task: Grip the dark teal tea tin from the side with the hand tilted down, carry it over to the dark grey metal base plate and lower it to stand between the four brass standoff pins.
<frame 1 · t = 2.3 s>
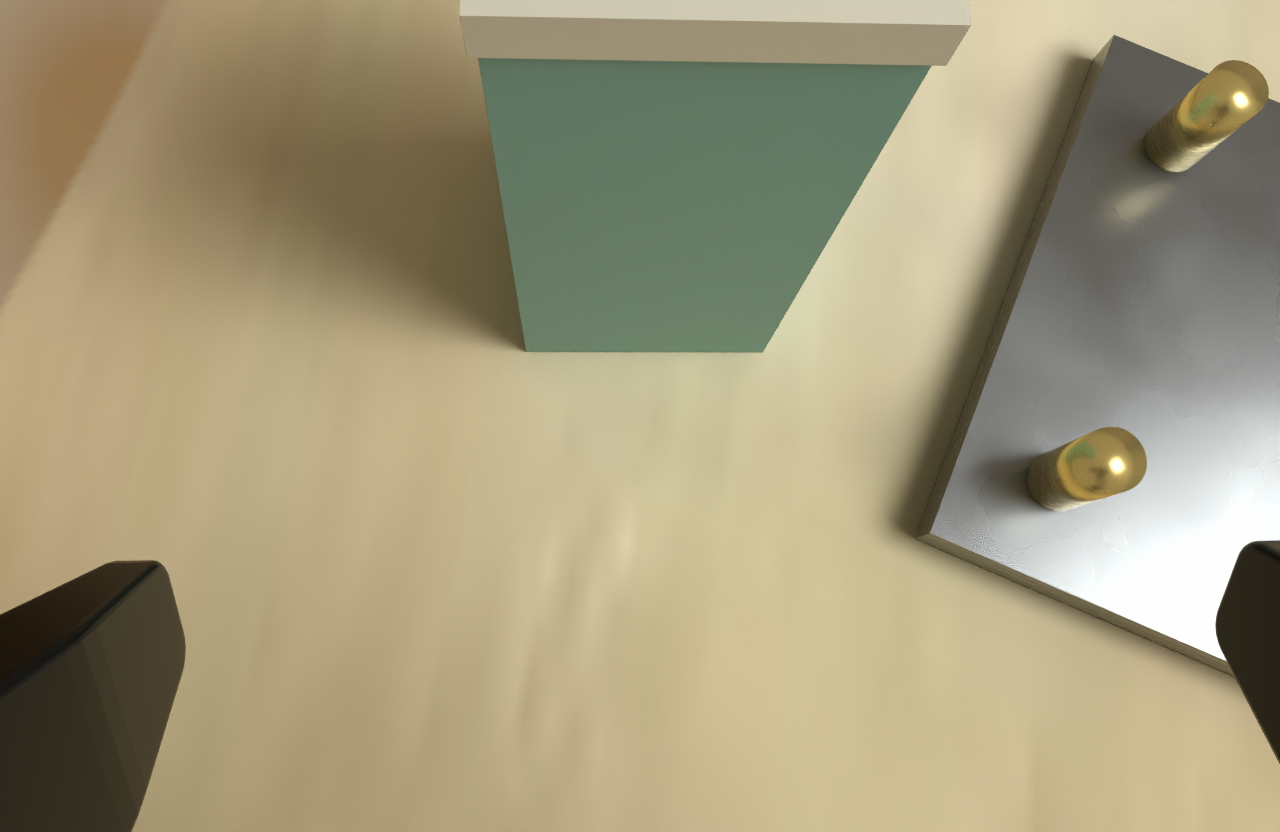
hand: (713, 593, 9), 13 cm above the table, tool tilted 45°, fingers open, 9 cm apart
tea tin: (643, 240, 24), on the table
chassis: (1268, 394, 24), on the table
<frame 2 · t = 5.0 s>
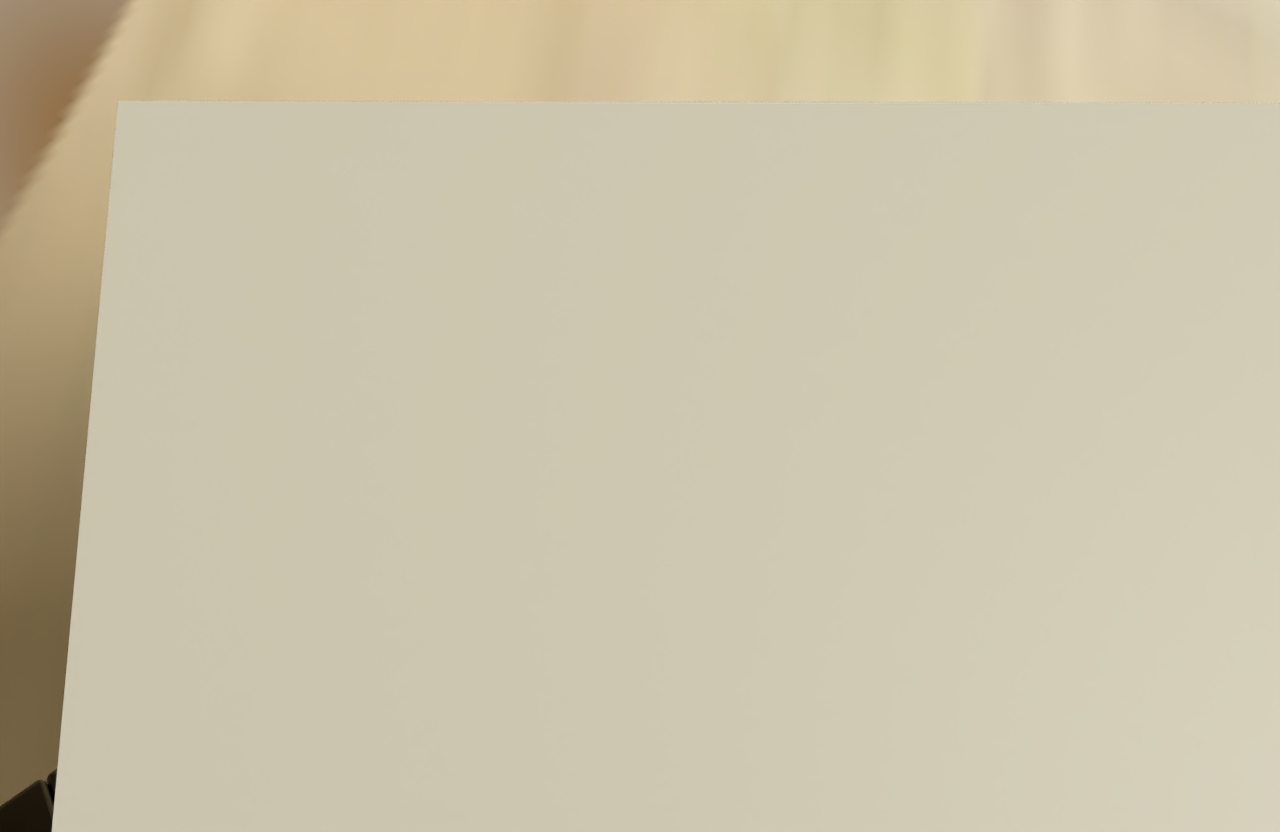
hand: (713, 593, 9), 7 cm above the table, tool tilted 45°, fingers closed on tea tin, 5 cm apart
tea tin: (665, 733, 16), on the table, touching gripper
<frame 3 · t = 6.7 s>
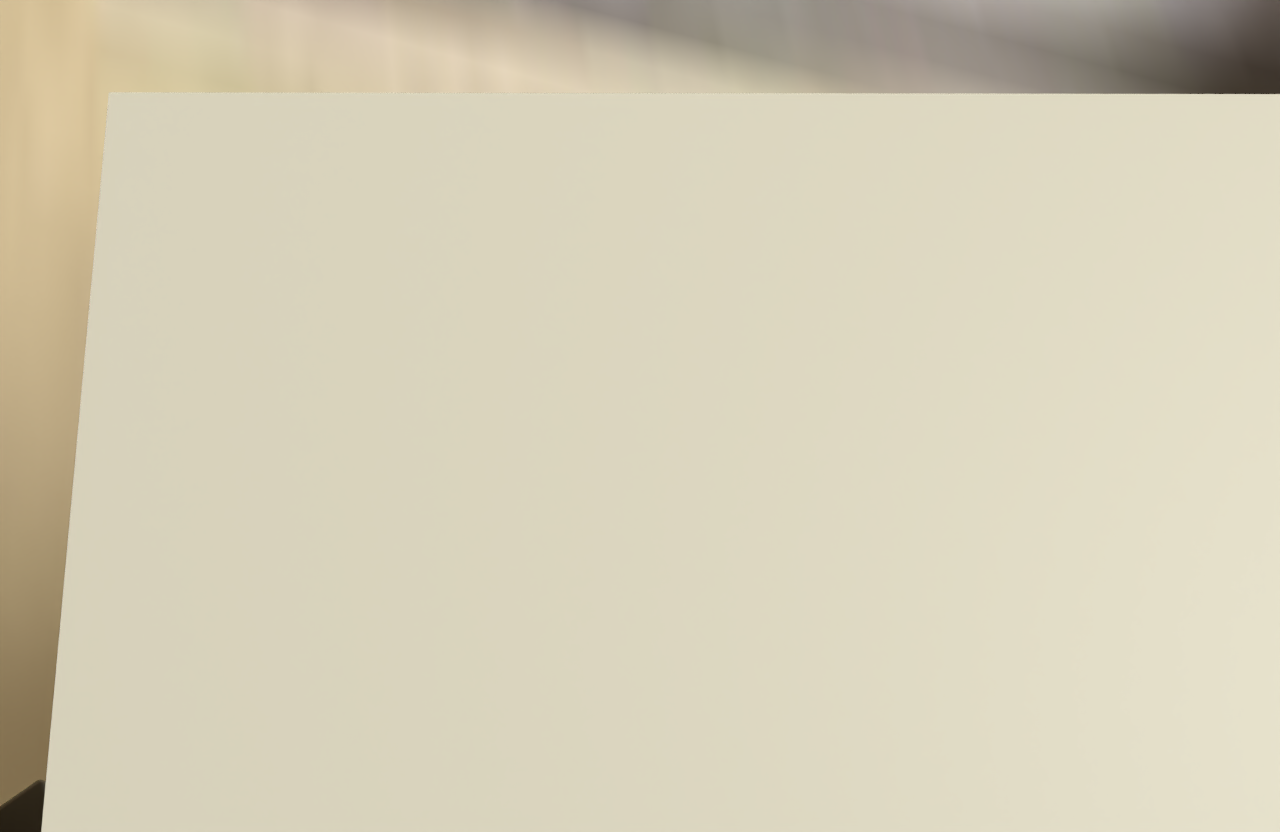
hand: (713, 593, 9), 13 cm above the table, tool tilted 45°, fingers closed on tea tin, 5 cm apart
tea tin: (662, 731, 16), point 7 cm above the table, touching gripper
when the fingers open (9 cm above the table, at t = 8.6 s): tea tin drops 1 cm, resting on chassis.
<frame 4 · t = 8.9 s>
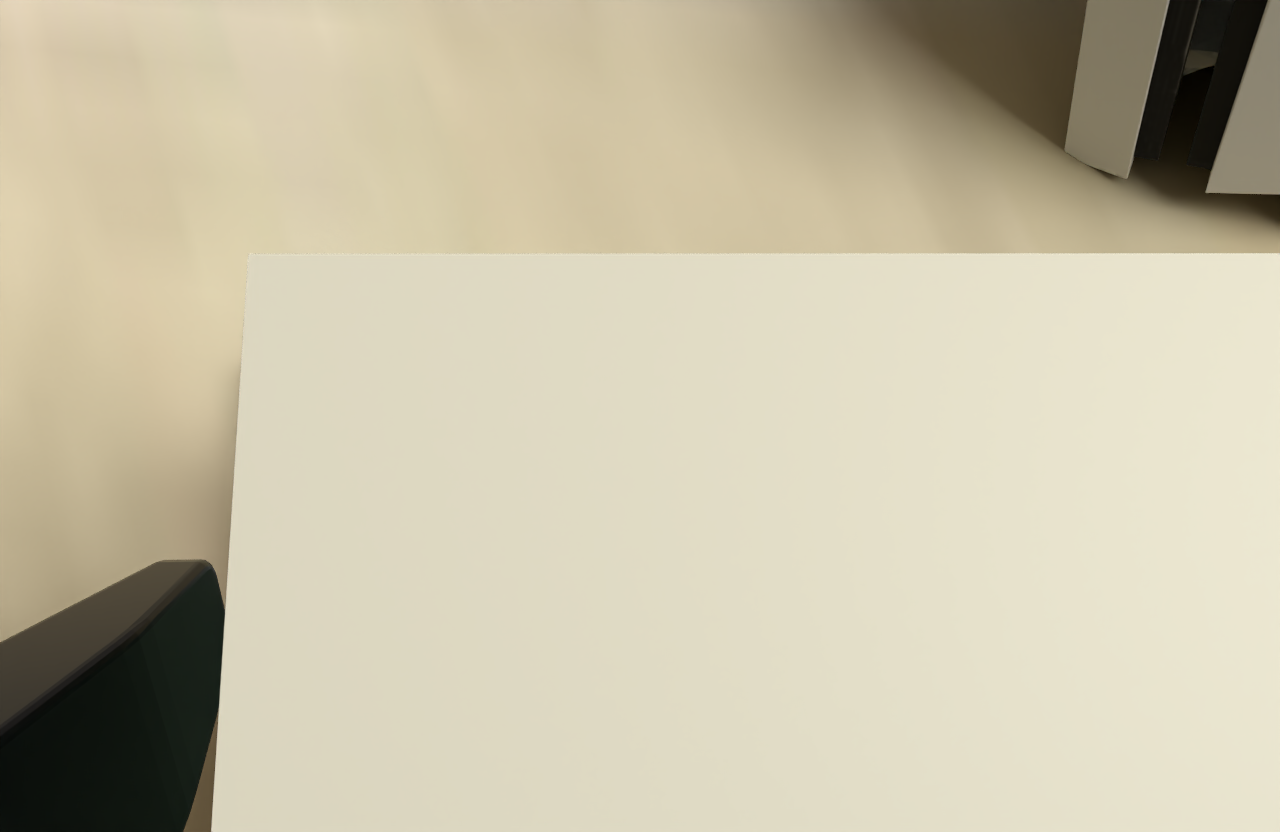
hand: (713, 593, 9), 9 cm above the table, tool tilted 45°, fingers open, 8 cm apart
tea tin: (658, 727, 17), point 1 cm above the table, touching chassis
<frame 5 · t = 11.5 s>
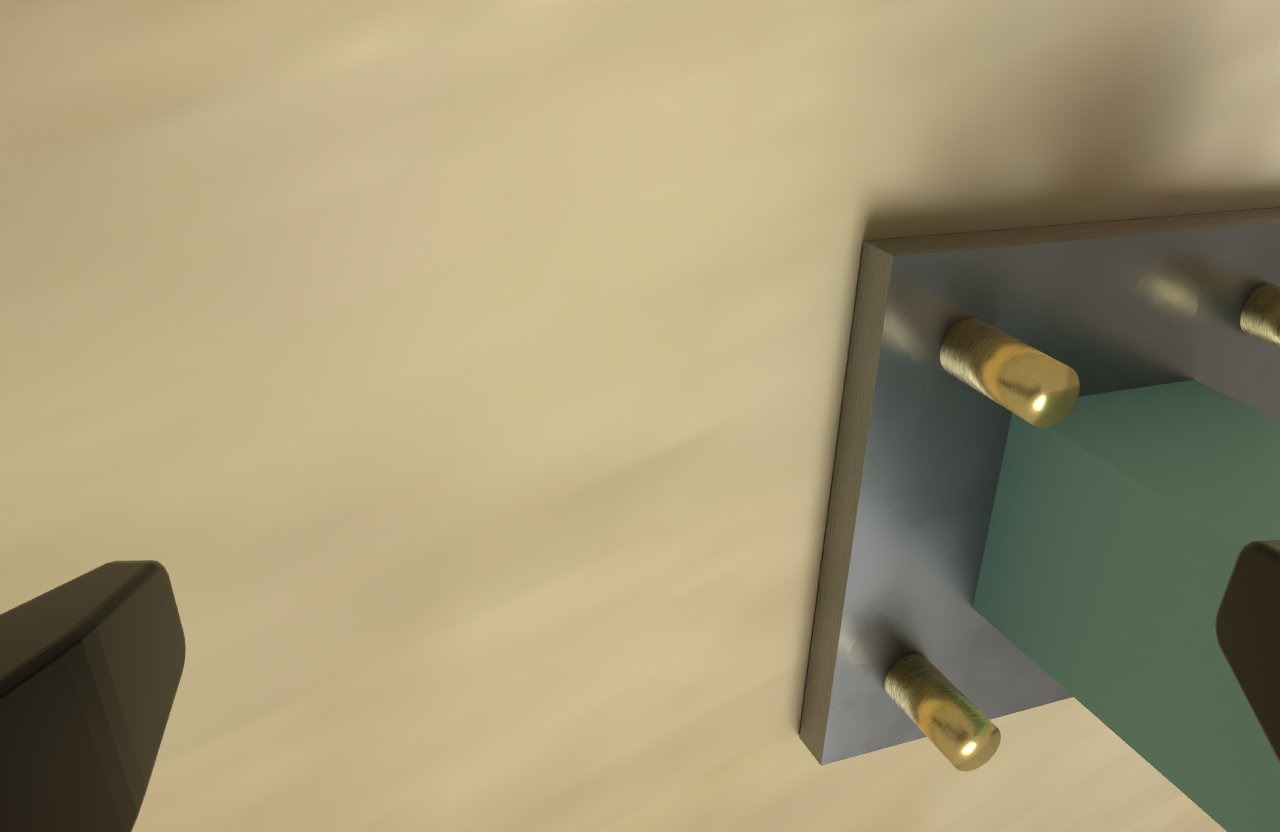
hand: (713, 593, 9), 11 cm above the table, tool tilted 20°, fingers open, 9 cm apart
tea tin: (1082, 494, 25), point 1 cm above the table, touching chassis
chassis: (1052, 474, 26), on the table
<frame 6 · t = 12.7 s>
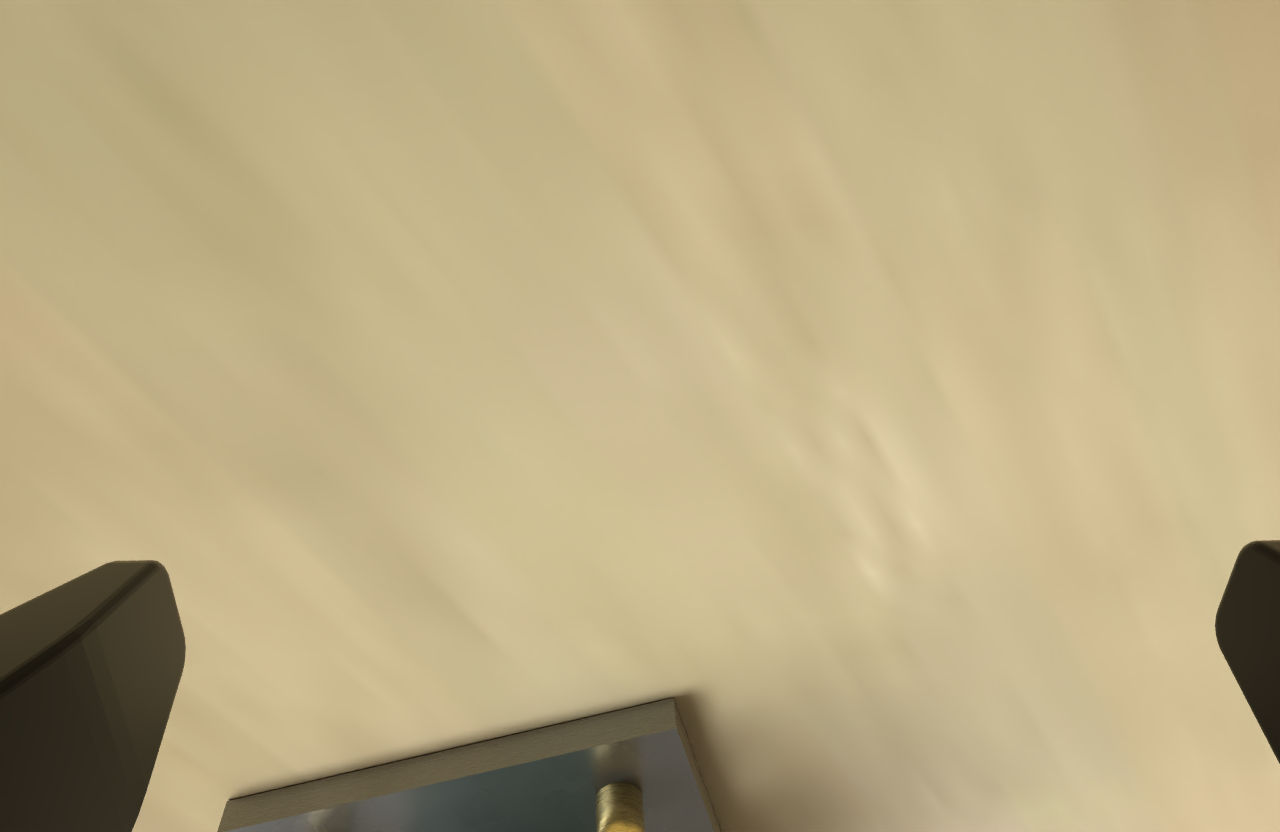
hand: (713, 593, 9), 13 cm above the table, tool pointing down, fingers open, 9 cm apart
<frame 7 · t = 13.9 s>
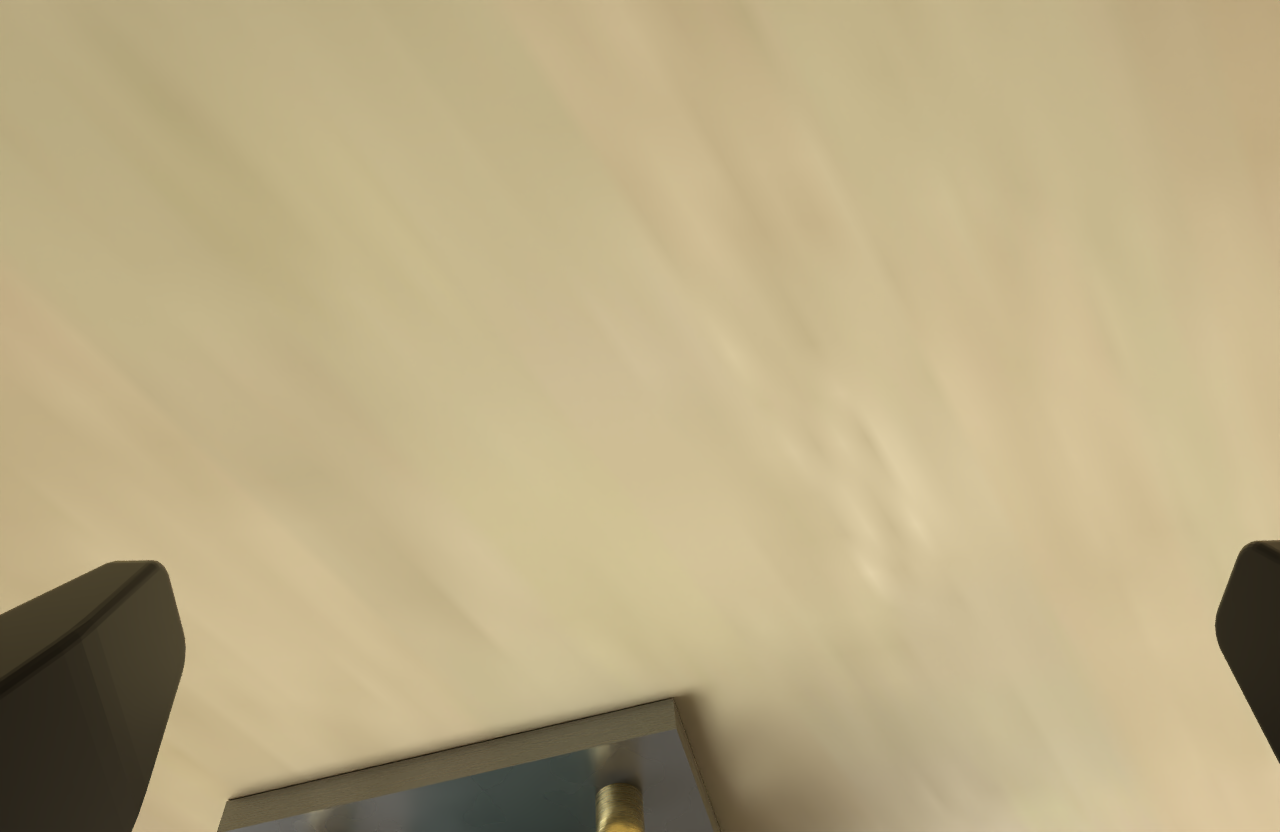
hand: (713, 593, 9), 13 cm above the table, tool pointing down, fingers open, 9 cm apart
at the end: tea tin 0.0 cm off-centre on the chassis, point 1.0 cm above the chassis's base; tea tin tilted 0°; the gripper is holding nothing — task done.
